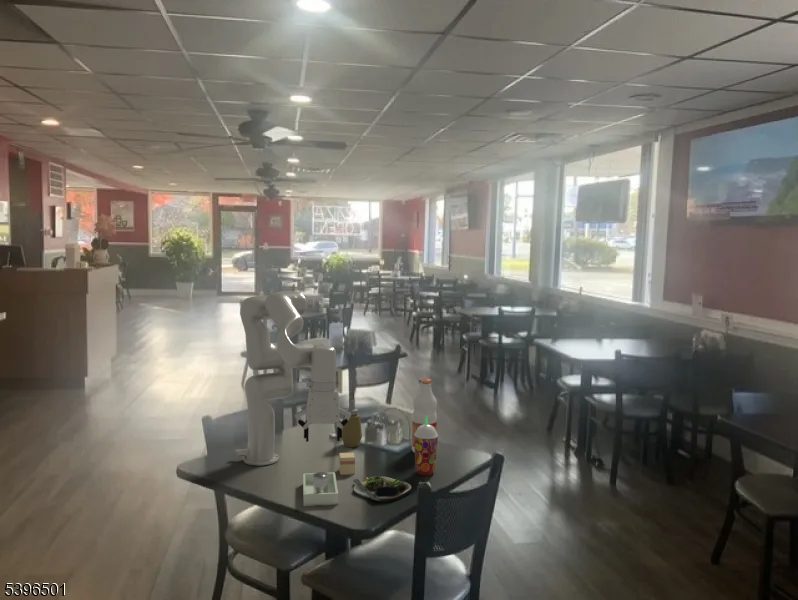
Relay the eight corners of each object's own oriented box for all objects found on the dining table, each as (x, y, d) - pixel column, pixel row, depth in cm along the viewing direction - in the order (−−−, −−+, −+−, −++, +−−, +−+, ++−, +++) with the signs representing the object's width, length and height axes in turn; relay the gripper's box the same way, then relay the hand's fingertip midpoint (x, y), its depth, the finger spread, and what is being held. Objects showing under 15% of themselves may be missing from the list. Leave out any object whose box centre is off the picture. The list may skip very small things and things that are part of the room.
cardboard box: (340, 474, 221) (340, 457, 221) (339, 469, 226) (339, 453, 226) (354, 474, 222) (355, 457, 222) (353, 469, 227) (353, 452, 226)
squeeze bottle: (353, 440, 259) (353, 396, 257) (366, 445, 253) (366, 400, 251) (337, 444, 254) (337, 400, 252) (349, 450, 248) (350, 404, 246)
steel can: (313, 500, 198) (313, 477, 197) (312, 494, 202) (313, 472, 202) (328, 499, 198) (328, 477, 198) (327, 493, 203) (328, 471, 202)
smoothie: (424, 467, 230) (426, 412, 228) (442, 473, 224) (443, 417, 223) (408, 472, 224) (409, 416, 223) (425, 479, 219) (427, 421, 217)
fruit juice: (407, 449, 250) (408, 378, 247) (428, 446, 254) (430, 376, 251) (419, 456, 241) (420, 383, 239) (440, 453, 246) (442, 381, 243)
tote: (303, 506, 194) (303, 494, 194) (303, 484, 212) (303, 473, 212) (338, 504, 196) (338, 493, 196) (334, 482, 214) (334, 472, 213)
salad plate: (336, 491, 207) (336, 477, 207) (373, 476, 221) (373, 463, 220) (382, 508, 195) (382, 493, 194) (418, 491, 209) (418, 477, 208)
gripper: (294, 389, 194) (294, 444, 196) (352, 388, 196) (351, 443, 198) (295, 383, 201) (294, 437, 203) (350, 383, 204) (349, 435, 205)
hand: (322, 440), depth 200 cm, fingers open, 9 cm apart
